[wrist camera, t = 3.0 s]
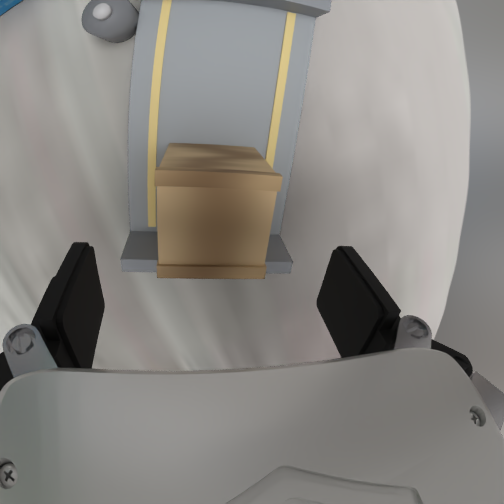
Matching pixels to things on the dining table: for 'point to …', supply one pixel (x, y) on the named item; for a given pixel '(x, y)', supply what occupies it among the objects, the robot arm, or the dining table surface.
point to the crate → (214, 211)
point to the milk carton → (7, 5)
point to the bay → (209, 93)
